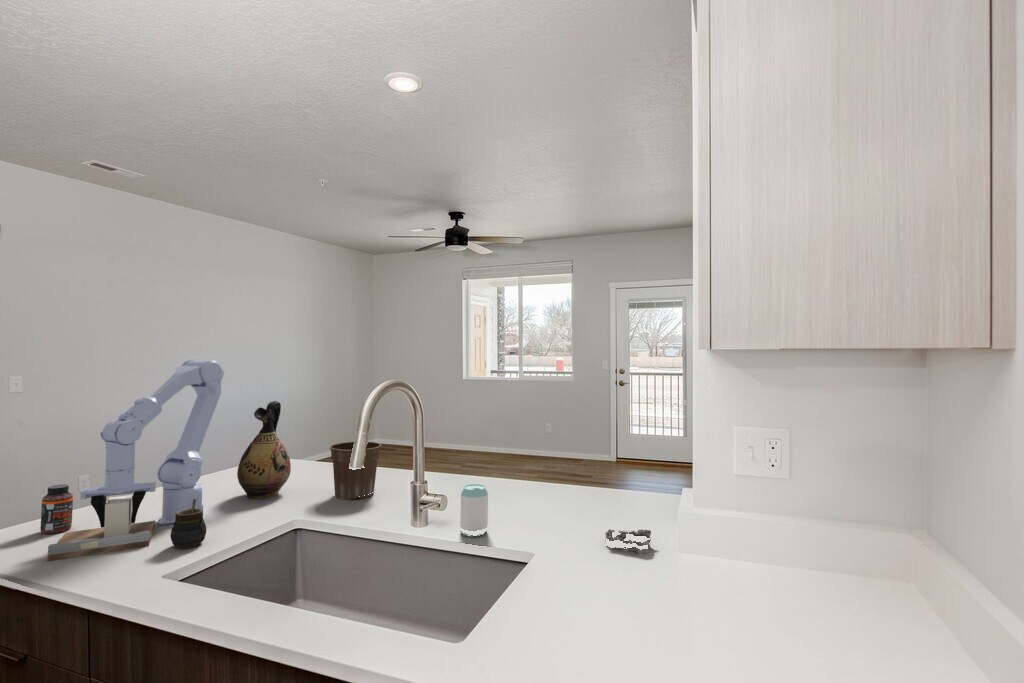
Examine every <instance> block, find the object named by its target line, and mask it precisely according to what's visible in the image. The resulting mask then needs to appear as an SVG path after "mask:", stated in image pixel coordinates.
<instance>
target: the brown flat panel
mask: <svg viewBox="0 0 1024 683" xmlns="http://www.w3.org/2000/svg"><path fill="white" fill-rule="evenodd" d="M155 524H156V520H151V521H142V522H135V523H132V524H131V529H130V531H129V533H136V532H144V531H150V537H149V541H142V542H135V543H128V544H122V545H115V546H108V547H101V548H94V549H88V550H81V551H74V552H67V553H60V554H54V555H48V554H47V562H49V561H56V560H63V559H69V558H75V557H82V556H88V555H95V554H102V553H109V552H115V551H123V550H129V549H134V548H136V549H137V548H142V547H149V546H150V543H151V540H152V536H153V533H154V530H155ZM129 533H128V534H129ZM100 537H104V527H102V528H101V527H97V528H90V529H82V530H73V531H67V532H66V531H65V532H64V534H63V535H62V536H61V537H60V539H59V540H58V542H57V543H65V542H72V541H79V540H86V539H93V538H100Z"/></svg>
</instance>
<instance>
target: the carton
mask: <svg viewBox="0 0 1024 683" xmlns="http://www.w3.org/2000/svg"><path fill="white" fill-rule="evenodd" d="M132 496H133V494H127V495H118V496H109V498H108V499H107V500H106V504H105V525H104V527H103V528H104V537H108V536H115V535H122V534H128V533H129V531H130V529H131V516H132Z"/></svg>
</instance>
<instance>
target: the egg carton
mask: <svg viewBox="0 0 1024 683" xmlns="http://www.w3.org/2000/svg"><path fill="white" fill-rule="evenodd" d="M617 531H618V532H619V533H621V534H620V535H617V536H616V537H614V538H613V537H612V532H615V529H608V530H607V531H606V532H605V534H604V535H605V538H607V539H609V541H614V540H620V541H623V543H626V544H628V543H630V544H632V543H636V544H637V545H638V546H643V545H648V549H642V550H640V549H638V548H636V547H632V548H627V549H626V547H624V548H625V549H624V548H622V549H621V548H620V550H622V552H624V553H625V552H626V553H627V552H635V553H637V554H639V555H643V554H648V553H649V549H651V543H650V541H651V540H652V539H651V535H652V530H649V529H638V531H636V530H631V531H627V530H626V531H625V530H617ZM628 533H629V534H633V535H634V536H646V537H647V538H650V540H647V541H645V542H643V543H641V542H636V541H633V542H632V541H631V540H629V541H624V539H625V538H626V534H628ZM651 542H652V541H651ZM649 543H650V545H649ZM608 549H609V550H616V549H615V548H614V549H613V548H609V547H608ZM617 549H619V548H617Z"/></svg>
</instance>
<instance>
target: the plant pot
mask: <svg viewBox="0 0 1024 683" xmlns="http://www.w3.org/2000/svg"><path fill="white" fill-rule="evenodd" d="M354 442H355V441H347V442H339V443H333V444H331V445H329V450H330V454H331V457H330V458H331V460H332V465H333V466H332V469H333V485H334V496H335V497H336V498H337V499H341V500H345V501H346V500H356V499H357V498H359V499H365V498H369V497H371V496H373V495H374V493H375V488H376V487H375V486H376V485H375V483H376V475H377V467H378V459H379V457H380V449H381V447H382V444H381V443H380V442H374V441H367V442H368V444H367V450H366V458H365V461H364V467H365V468H361V469H356V470H352V469H349V463H350V457H351V453H352V448H353V444H354ZM372 492H373V493H372ZM370 493H371V494H370ZM368 494H369V495H368ZM364 495H365V496H364ZM359 496H360V497H359Z"/></svg>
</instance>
